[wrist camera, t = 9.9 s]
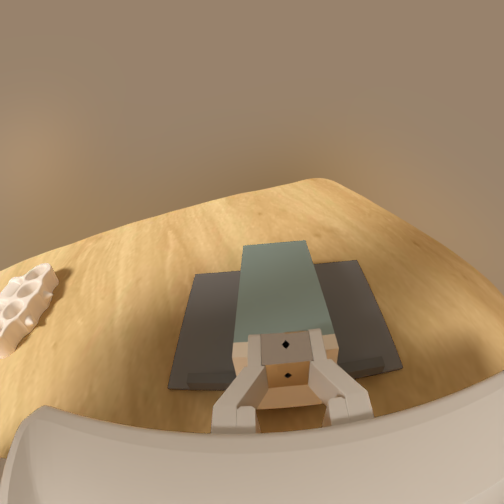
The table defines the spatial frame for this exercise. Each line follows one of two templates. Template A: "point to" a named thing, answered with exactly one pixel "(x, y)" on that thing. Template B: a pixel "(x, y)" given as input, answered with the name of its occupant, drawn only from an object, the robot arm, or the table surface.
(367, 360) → the charcoal mat
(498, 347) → the table surface
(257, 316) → the block
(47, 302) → the white multi-hole holder
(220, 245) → the table surface
